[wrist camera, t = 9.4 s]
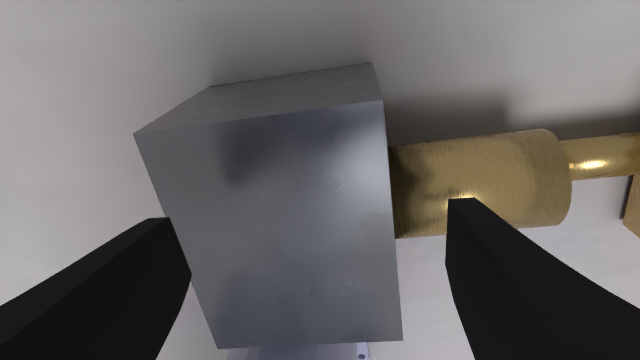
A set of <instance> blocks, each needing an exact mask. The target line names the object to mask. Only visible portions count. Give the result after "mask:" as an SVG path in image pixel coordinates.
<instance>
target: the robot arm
mask: <svg viewBox="0 0 640 360" xmlns="http://www.w3.org/2000/svg"><path fill="white" fill-rule="evenodd" d="M445 265H446V269H447V274H448V278H449V283H450V287H451V291H452V295H453V299H454V303H455V306H456V308H457V311H458V314H459V317H460V320H461V322H462V325H463V328H464V331H465V333H466V336H467V339H468V341H469V344H470V347H471V350H472V352H473V355H474V358H475V360H640V309H639V308H637V307H636V306H634V305H632V304H630V303H628V302H627V301H625V300H623V299H621V298H620V297H618V296H616V295H614V294H613V293H611V292H609V291H607V290H606V289H604V288H602V287H601V286H599V285H597V284H596V283H594V282H592V281H591V280H589V279H588V278H586V277H585V276H583V275H582V274H580V273H578V272H577V271H575V270H574V269H572V268H571V267H569V266H568V265H566V264H565V263H563V262H562V261H560V260H559V259H557V258H556V257H554V256H553V255H551V254H550V253H548V252H547V251H545V250H544V249H543V248H541V247H540V246H538V245H537V244H536V243H534V242H533V241H531V240H530V239H529V238H527V237H526V236H525V235H523V234H522V233H521V232H519V231H518V230H517V229H515V228H514V227H513V226H511V225H510V224H509V223H507V222H506V221H505V220H504V219H502V218H501V217H500V216H498V215H497V214H496V213H495V212H493V211H492V210H491V209H489V208H488V207H487V206H486V205H484V204H483V203H482V202H480V201H479V200H478V199H476V198H475V197H470V198H455V199H448V211H447V235H446V259H445ZM191 277H192V273H191V270H190V268H189V265H188V262H187V260H186V257H185V255H184V252H183V250H182V247H181V245H180V242H179V240H178V237H177V235H176V232H175V229H174V227H173V224H172V222H171V219H170V217H162V218H148V219H146V220H144V221H142V222H140V223H138V224H137V225H135V226H133V227H131V228H129V229H128V230H126V231H124V232H123V233H121V234H119V235H118V236H116V237H115V238H113V239H111V240H110V241H108V242H106V243H105V244H103V245H102V246H100V247H98V248H97V249H95V250H94V251H92V252H90V253H89V254H87V255H86V256H84V257H82V258H81V259H79V260H78V261H76V262H74V263H73V264H71V265H70V266H68V267H66V268H65V269H63V270H61V271H60V272H58V273H56V274H55V275H53V276H51V277H50V278H48V279H46V280H45V281H43V282H41V283H39V284H38V285H36V286H34V287H33V288H31V289H29V290H28V291H26V292H24V293H23V294H21V295H19V296H17V297H16V298H14V299H12V300H10V301H8V302H7V303H5V304H3V305H1V306H0V360H156V358H157V356H158V354H159V352H160V350H161V348H162V346H163V344H164V342H165V340H166V338H167V336H168V334H169V332H170V330H171V328H172V326H173V324H174V322H175V320H176V318H177V316H178V314H179V312H180V309H181V307H182V304H183V301H184V298H185V296H186V293H187V290H188V287H189V283H190V280H191ZM227 360H370V358H369V351H368V344H367V342H360V343H338V344H316V345H294V346H272V347H250V348H231V349H230V352H229V355H228V358H227Z"/></svg>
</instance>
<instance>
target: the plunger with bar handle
mask: <svg viewBox="0 0 640 360" xmlns="http://www.w3.org/2000/svg"><path fill="white" fill-rule="evenodd" d="M387 151H388V163H389V176H390V188H391V200H392V212H393V224H394V236H395V239H401V238H413V237H425V236H437V235H447V211H448V199H455V198H470V197H475V198H476V199H478V200H479V201H480V202H482V203H483V204H484V205H486V206H487V207H488V208H489V209H491V210H492V211H493V212H495V213H496V214H497V215H498V216H500V217H501V218H502V219H504V220H505V221H506V222H507V223H509V224H510V225H511V226H513V227H514V228H515V229H521V228H533V227H545V226H555V225H558V224H560V223H561V222H562V221H563V220H564V219H565V217H566V215H567V213H568V210H569V207H570V202H571V192H572V184H571V181H574V180H585V179H595V178H605V177H615V176H625V175H634V177H633V181H632V185H631V189H630V194H629V198H628V202H627V206H626V211H625V215H624V219H623V223H622V224H623V225H624V226H626V227H627V228H628V229H629V230H631V231H632V232H633V233H634V234H635V235H637V236H638V237H639V238H640V132H633V133H624V134H615V135H606V136H597V137H588V138H579V139H570V140H561V141H559V140H558V138H557V137H556V136H555V135H554V134H553V133H552V132H551V131H549V130H547V129H533V130H524V131H516V132H507V133H499V134H490V135H482V136H473V137H465V138H456V139H448V140H439V141H431V142H422V143H414V144H405V145H397V146H388V147H387Z"/></svg>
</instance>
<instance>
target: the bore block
mask: <svg viewBox="0 0 640 360" xmlns="http://www.w3.org/2000/svg"><path fill="white" fill-rule="evenodd" d="M133 136H134V138H135V141H136V143H137V146H138V148H139V151H140V153H141V156H142V158H143V161H144V163H145V166H146V168H147V171H148V173H149V176H150V179H151V181H152V184H153V186H154V189H155V191H156V194H157V196H158V199H159V201H160V204H161V206H162V209H163V211H164V214H165V216H166V217H170V219H171V222H172V224H173V227H174V229H175V232H176V235H177V237H178V240H179V242H180V245H181V247H182V250H183V252H184V255H185V257H186V260H187V262H188V265H189V268H190V270H191V273H192V277H191V282H192V285H193V287H194V290H195V292H196V295H197V297H198V300H199V302H200V305H201V307H202V310H203V312H204V315H205V318H206V320H207V323H208V325H209V328H210V330H211V333H212V335H213V338H214V340H215V343H216V345H217V348H218V349H229V348H250V347H272V346H294V345H316V344H338V343H360V342H382V341H403V333H402V321H401V309H400V297H399V284H398V272H397V260H396V248H395V236H394V224H393V212H392V200H391V188H390V176H389V163H388V151H387V139H386V127H385V115H384V103H383V98H382V94H381V91H380V88H379V85H378V82H377V79H376V76H375V72H374V69H373V66H372V63H366V64H359V65H352V66H346V67H339V68H332V69H326V70H319V71H312V72H306V73H299V74H292V75H285V76H279V77H272V78H265V79H259V80H252V81H245V82H239V83H232V84H225V85H218V86H212V87H208V88H206V89H204V90H203V91H201V92H200V93H198V94H196V95H195V96H193V97H191V98H190V99H188V100H187V101H185V102H183V103H182V104H180V105H179V106H177V107H175V108H174V109H172V110H170V111H169V112H167V113H166V114H164V115H162V116H161V117H159V118H158V119H156V120H154V121H153V122H151V123H149V124H148V125H146V126H145V127H143V128H141V129H140V130H138V131H136V132H135V133H133Z"/></svg>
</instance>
